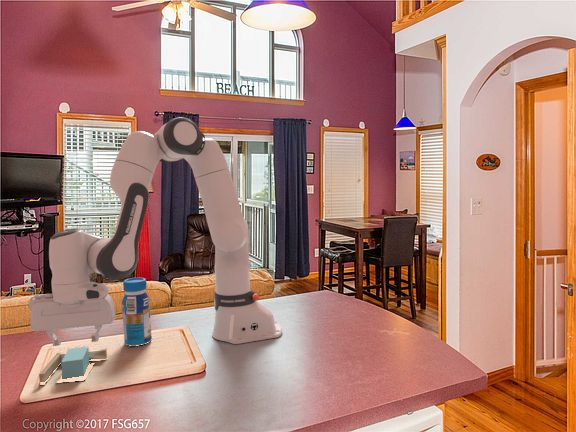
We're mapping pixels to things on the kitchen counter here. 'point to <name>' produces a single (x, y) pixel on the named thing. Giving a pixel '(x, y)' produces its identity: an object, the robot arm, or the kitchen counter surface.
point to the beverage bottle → (136, 312)
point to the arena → (59, 357)
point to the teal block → (75, 362)
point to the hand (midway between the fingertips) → (76, 343)
